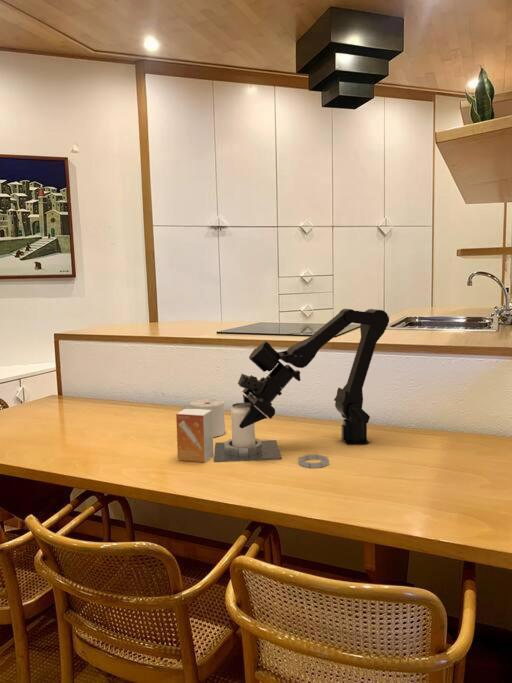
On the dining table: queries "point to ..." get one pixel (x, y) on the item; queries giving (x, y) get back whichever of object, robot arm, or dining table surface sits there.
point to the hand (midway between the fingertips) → (238, 424)
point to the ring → (313, 465)
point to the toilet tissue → (217, 413)
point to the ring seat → (246, 451)
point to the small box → (194, 435)
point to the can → (241, 435)
